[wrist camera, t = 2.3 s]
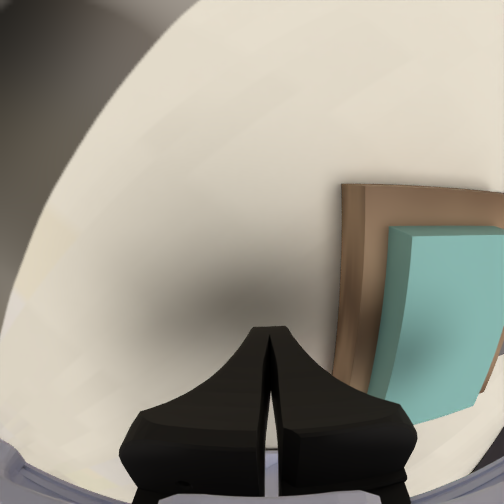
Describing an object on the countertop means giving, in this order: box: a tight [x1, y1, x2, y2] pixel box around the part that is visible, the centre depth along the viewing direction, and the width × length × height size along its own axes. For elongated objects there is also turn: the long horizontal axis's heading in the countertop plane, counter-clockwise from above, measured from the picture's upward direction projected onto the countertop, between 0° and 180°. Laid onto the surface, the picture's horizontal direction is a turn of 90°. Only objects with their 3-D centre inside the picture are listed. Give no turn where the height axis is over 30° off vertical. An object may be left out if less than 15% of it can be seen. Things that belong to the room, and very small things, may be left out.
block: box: [367, 226, 504, 425], centre depth 10 cm, size 9×6×2 cm, turn 3°
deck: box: [332, 184, 504, 394], centre depth 13 cm, size 12×10×4 cm
